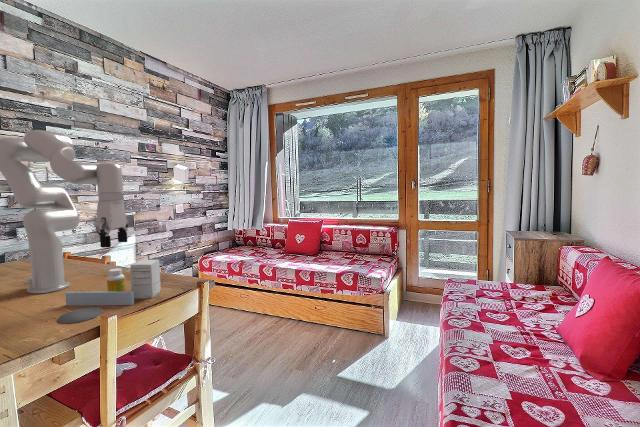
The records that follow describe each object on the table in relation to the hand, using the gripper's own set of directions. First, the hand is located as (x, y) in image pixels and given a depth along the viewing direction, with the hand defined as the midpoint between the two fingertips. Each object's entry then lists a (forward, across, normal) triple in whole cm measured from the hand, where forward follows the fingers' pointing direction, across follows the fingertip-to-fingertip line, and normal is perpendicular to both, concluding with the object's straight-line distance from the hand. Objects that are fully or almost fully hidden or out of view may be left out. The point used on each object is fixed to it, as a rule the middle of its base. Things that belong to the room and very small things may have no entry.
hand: (114, 244), depth 112 cm
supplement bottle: (+19, 0, -1) cm, 19 cm away
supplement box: (+20, 0, +10) cm, 22 cm away
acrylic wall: (+19, +9, -1) cm, 21 cm away
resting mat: (+19, +18, -1) cm, 26 cm away
